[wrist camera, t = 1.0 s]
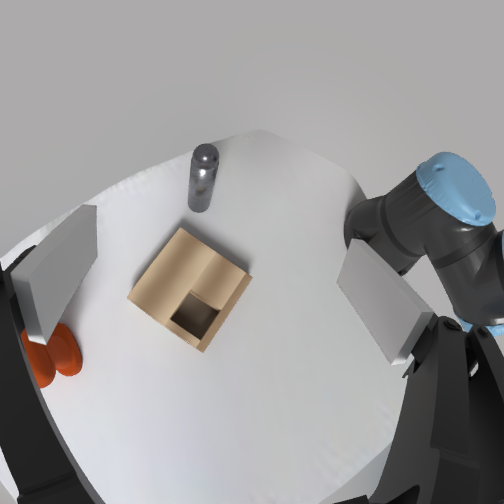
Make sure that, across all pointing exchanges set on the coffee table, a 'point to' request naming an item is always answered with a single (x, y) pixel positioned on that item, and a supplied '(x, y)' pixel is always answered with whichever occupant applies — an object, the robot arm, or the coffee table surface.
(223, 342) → the coffee table surface
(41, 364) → the toy drill
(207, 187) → the metal round-headed rod
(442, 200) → the robot arm
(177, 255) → the block
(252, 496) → the coffee table surface
